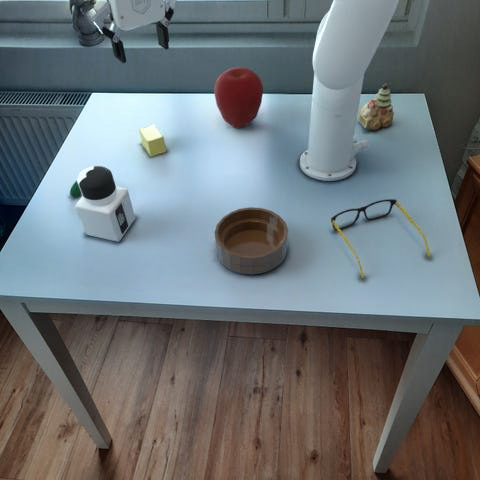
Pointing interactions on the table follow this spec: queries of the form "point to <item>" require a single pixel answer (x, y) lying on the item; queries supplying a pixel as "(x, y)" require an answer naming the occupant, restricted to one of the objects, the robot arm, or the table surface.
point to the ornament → (377, 111)
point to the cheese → (152, 140)
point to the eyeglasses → (392, 202)
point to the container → (103, 204)
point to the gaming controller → (75, 190)
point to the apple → (238, 96)
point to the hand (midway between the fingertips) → (143, 53)
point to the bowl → (251, 240)
